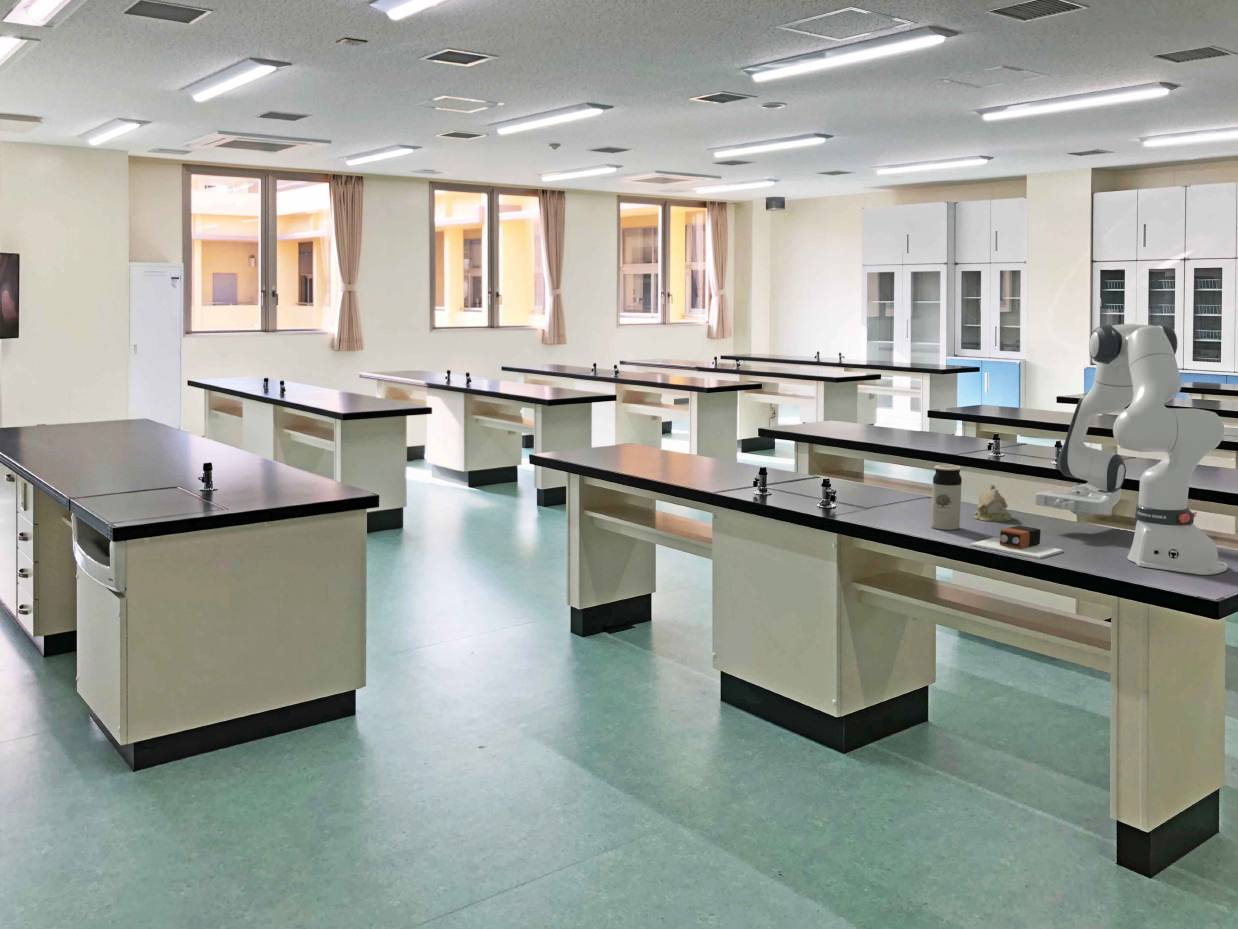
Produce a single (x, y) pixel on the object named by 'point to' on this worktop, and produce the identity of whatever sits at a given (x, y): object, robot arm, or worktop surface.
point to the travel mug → (946, 497)
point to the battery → (1020, 537)
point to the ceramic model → (992, 506)
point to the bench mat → (1029, 551)
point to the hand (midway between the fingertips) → (1058, 505)
